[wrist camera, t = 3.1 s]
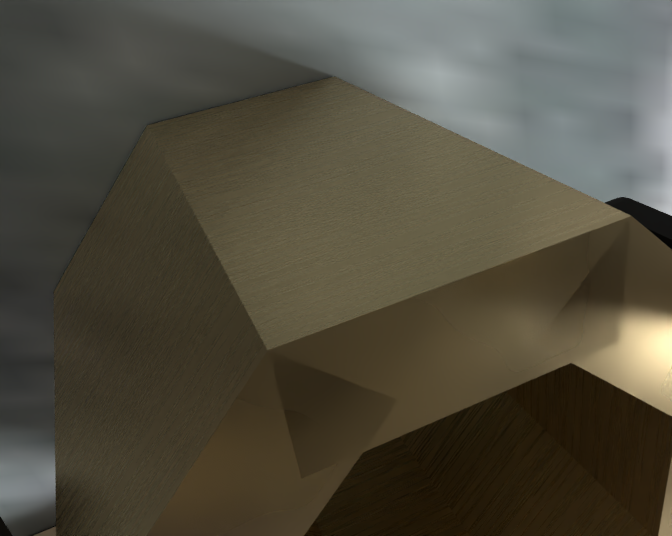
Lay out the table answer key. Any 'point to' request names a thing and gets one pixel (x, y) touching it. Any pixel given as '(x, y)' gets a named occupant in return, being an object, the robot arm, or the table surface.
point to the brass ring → (357, 337)
